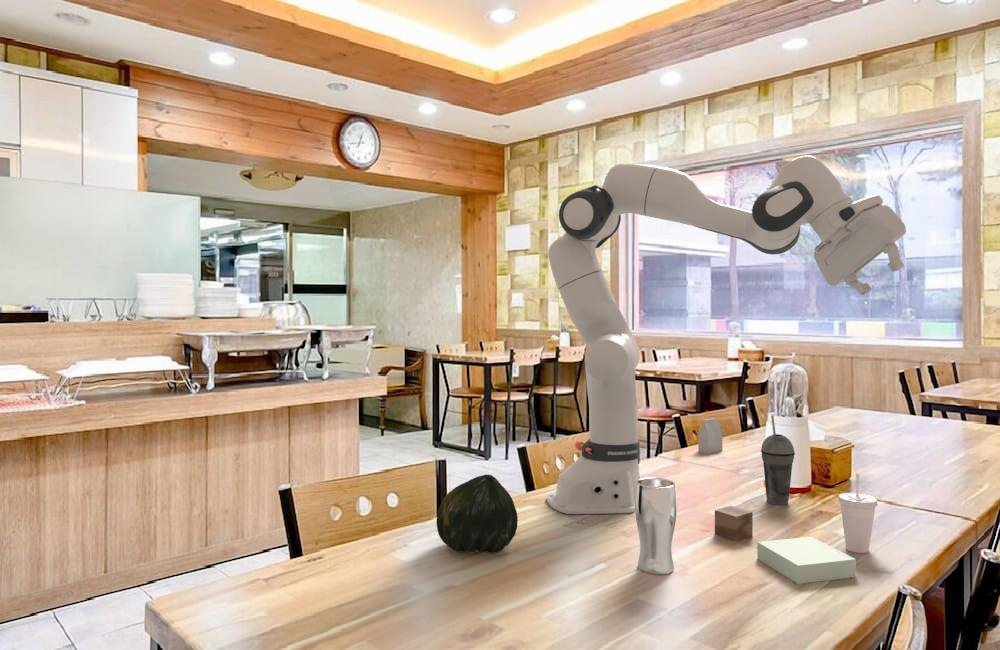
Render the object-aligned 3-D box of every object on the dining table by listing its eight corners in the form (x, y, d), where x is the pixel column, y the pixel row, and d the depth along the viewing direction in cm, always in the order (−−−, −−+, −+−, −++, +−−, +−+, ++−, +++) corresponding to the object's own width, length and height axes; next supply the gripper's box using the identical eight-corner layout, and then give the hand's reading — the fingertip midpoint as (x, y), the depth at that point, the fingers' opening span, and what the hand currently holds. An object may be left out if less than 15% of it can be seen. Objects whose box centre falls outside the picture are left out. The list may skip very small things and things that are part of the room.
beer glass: (653, 579, 110) (653, 490, 109) (627, 565, 116) (626, 480, 115) (685, 571, 113) (685, 484, 112) (657, 557, 119) (657, 475, 119)
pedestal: (798, 583, 108) (798, 565, 107) (757, 558, 118) (757, 542, 118) (855, 577, 110) (855, 559, 110) (810, 552, 121) (810, 536, 121)
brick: (736, 542, 127) (736, 516, 126) (714, 534, 131) (714, 510, 131) (752, 537, 129) (752, 512, 129) (731, 530, 134) (731, 505, 133)
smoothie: (875, 545, 124) (876, 471, 123) (878, 557, 118) (879, 480, 118) (837, 541, 127) (837, 468, 126) (838, 552, 121) (839, 476, 120)
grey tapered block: (722, 450, 205) (722, 418, 204) (708, 453, 201) (708, 421, 200) (712, 448, 208) (712, 417, 207) (698, 451, 204) (698, 419, 203)
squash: (424, 509, 131) (442, 464, 121) (494, 503, 137) (516, 459, 127) (440, 577, 121) (460, 533, 112) (514, 566, 127) (539, 524, 118)
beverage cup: (798, 507, 147) (798, 418, 147) (763, 506, 149) (763, 417, 148) (790, 498, 154) (791, 413, 154) (757, 496, 156) (758, 412, 155)
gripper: (799, 256, 140) (837, 310, 135) (859, 198, 121) (906, 259, 117) (822, 247, 142) (860, 301, 137) (884, 189, 123) (931, 248, 119)
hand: (882, 281), depth 127 cm, fingers open, 8 cm apart
